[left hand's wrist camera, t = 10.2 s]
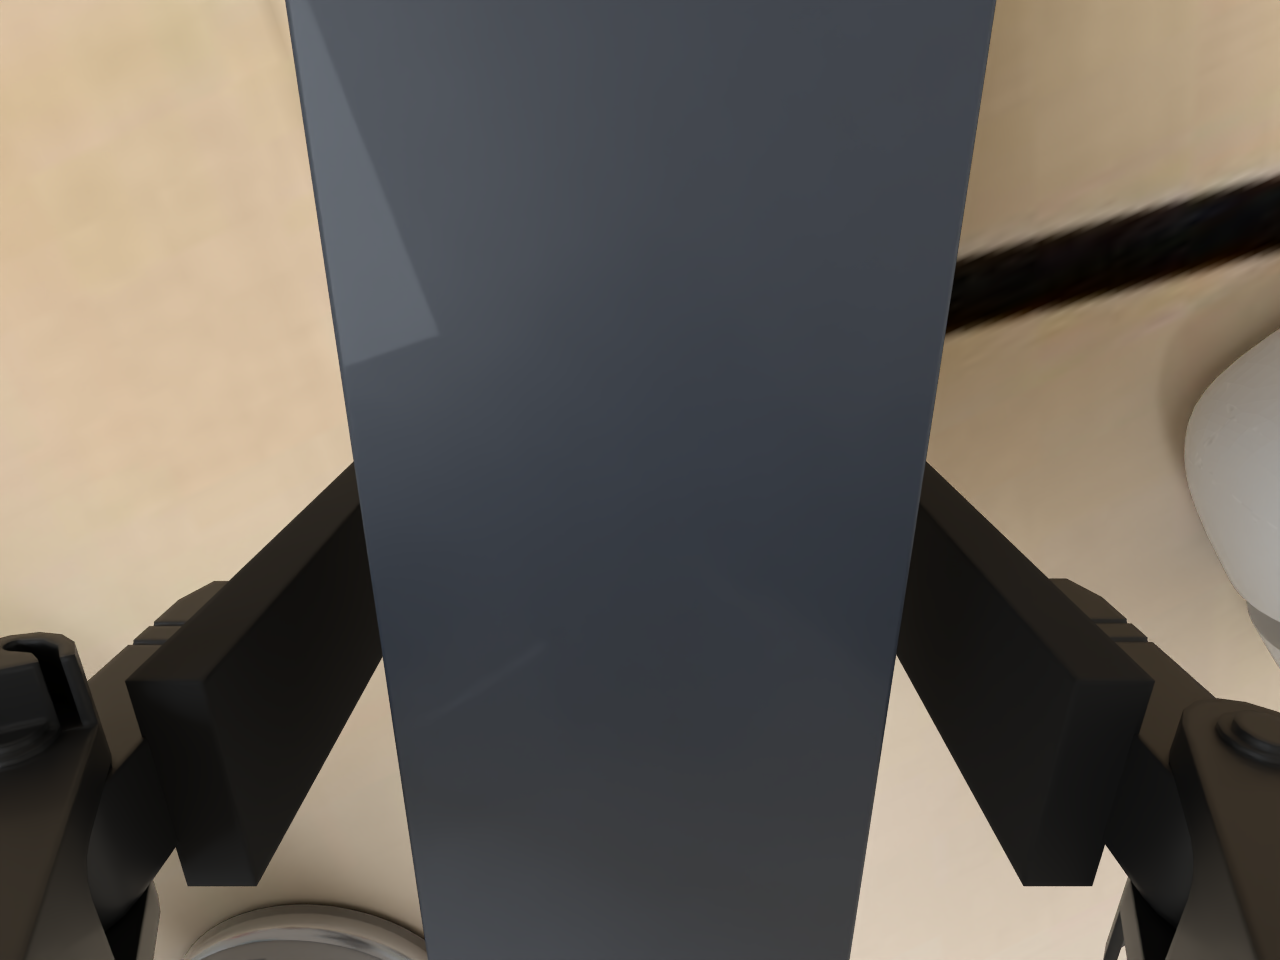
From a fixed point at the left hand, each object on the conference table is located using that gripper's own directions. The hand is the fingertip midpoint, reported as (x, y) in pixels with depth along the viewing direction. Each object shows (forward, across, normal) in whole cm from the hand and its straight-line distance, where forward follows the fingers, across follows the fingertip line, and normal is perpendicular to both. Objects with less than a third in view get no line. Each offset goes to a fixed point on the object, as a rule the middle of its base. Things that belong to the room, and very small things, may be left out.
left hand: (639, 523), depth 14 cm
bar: (+2, 0, -12) cm, 12 cm away
